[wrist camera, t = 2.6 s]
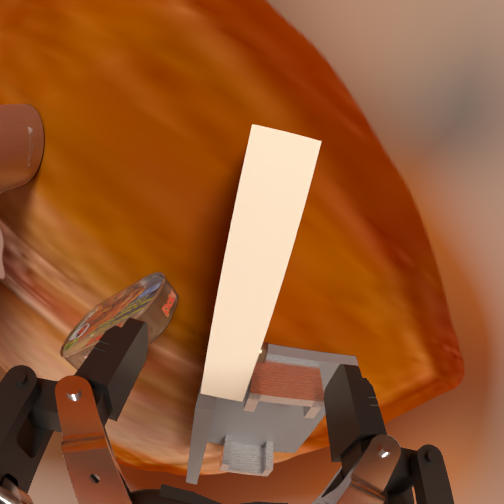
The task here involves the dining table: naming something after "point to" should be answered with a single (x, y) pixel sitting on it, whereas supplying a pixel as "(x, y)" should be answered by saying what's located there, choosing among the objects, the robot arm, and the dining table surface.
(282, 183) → the door
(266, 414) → the hinge bracket
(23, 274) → the dining table surface
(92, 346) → the tin
